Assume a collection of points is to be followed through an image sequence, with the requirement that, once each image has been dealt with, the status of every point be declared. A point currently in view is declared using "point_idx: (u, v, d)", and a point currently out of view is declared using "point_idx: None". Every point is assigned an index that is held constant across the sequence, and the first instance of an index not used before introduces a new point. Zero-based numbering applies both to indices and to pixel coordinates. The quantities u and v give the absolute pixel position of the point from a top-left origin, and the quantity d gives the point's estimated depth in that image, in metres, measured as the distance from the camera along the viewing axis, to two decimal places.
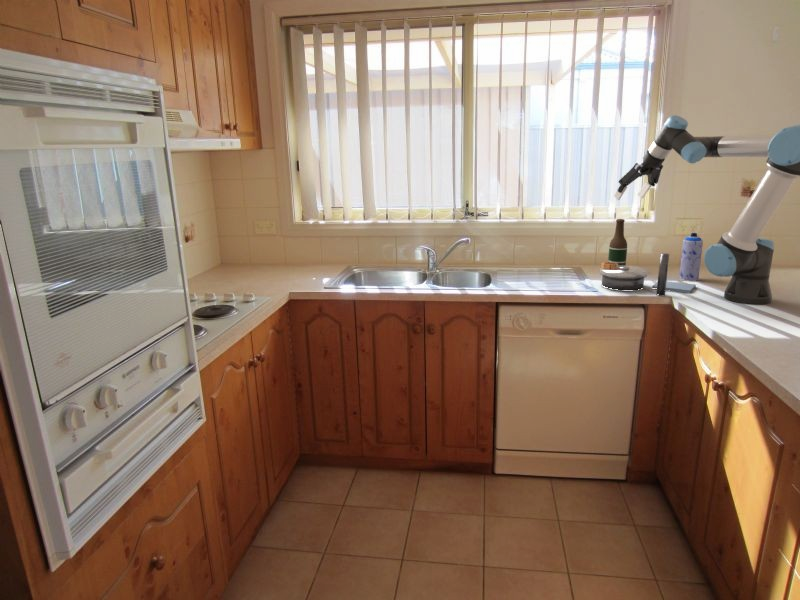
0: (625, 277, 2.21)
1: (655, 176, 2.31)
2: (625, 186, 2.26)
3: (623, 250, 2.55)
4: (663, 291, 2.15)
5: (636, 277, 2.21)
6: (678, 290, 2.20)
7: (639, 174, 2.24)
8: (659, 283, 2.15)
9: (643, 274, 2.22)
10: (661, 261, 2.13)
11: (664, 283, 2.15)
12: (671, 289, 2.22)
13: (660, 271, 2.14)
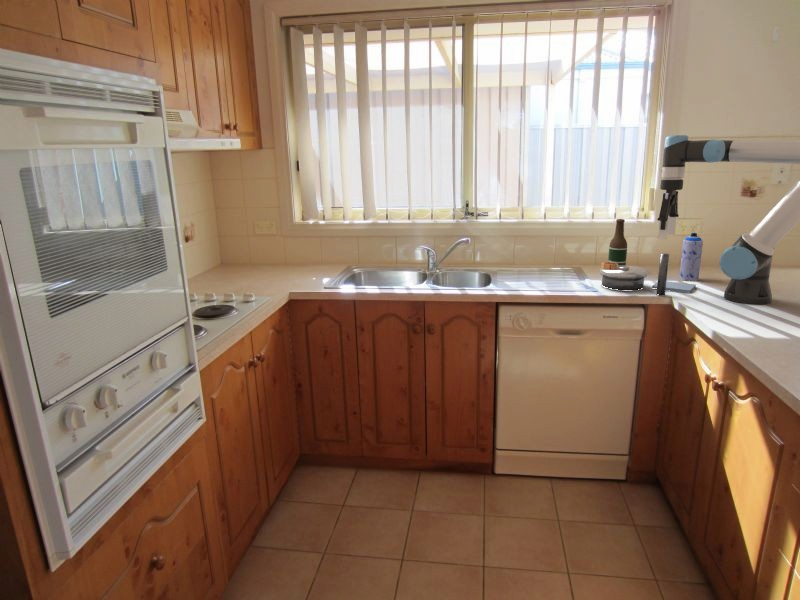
0: (625, 277, 2.21)
1: None
2: None
3: (623, 250, 2.55)
4: (663, 291, 2.15)
5: (636, 277, 2.21)
6: (678, 290, 2.20)
7: (670, 203, 2.05)
8: (659, 283, 2.15)
9: (643, 274, 2.22)
10: (661, 261, 2.13)
11: (664, 283, 2.15)
12: (671, 289, 2.22)
13: (660, 271, 2.14)
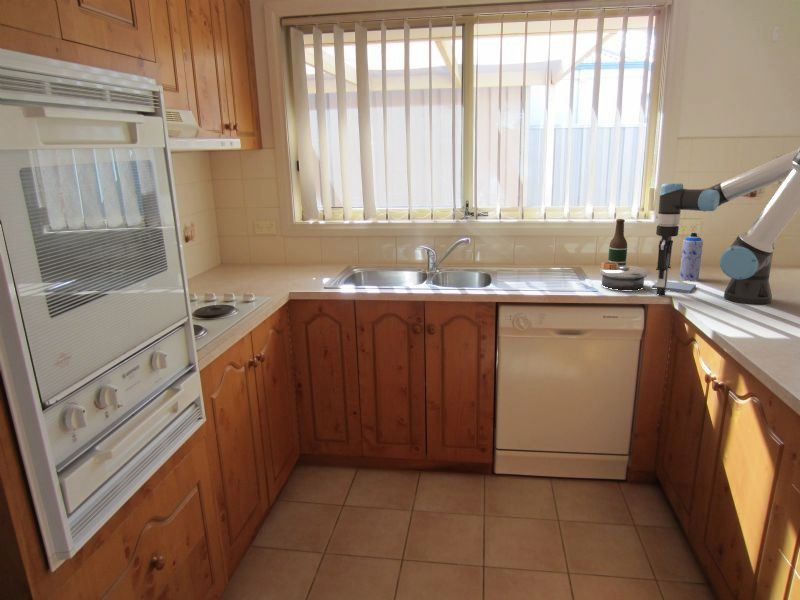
0: (625, 277, 2.21)
1: None
2: (665, 269, 2.12)
3: (623, 250, 2.55)
4: (663, 291, 2.15)
5: (636, 277, 2.21)
6: (678, 290, 2.20)
7: (667, 251, 2.10)
8: None
9: (643, 274, 2.22)
10: None
11: None
12: (671, 289, 2.22)
13: None
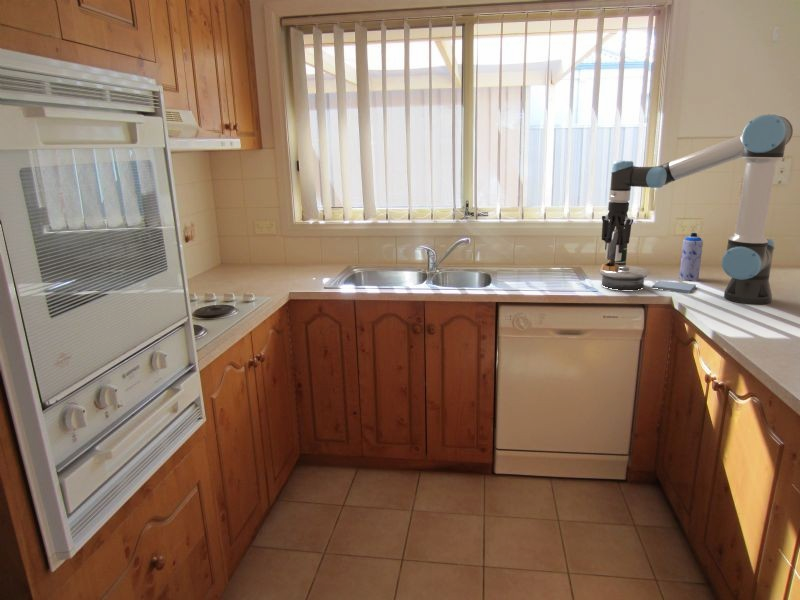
0: (639, 277, 2.21)
1: (606, 230, 2.27)
2: (623, 243, 2.22)
3: (623, 250, 2.55)
4: (614, 265, 2.27)
5: (645, 275, 2.24)
6: (678, 290, 2.20)
7: (623, 226, 2.21)
8: (612, 259, 2.25)
9: (647, 272, 2.26)
10: (616, 239, 2.22)
11: None
12: (671, 289, 2.22)
13: (614, 248, 2.23)
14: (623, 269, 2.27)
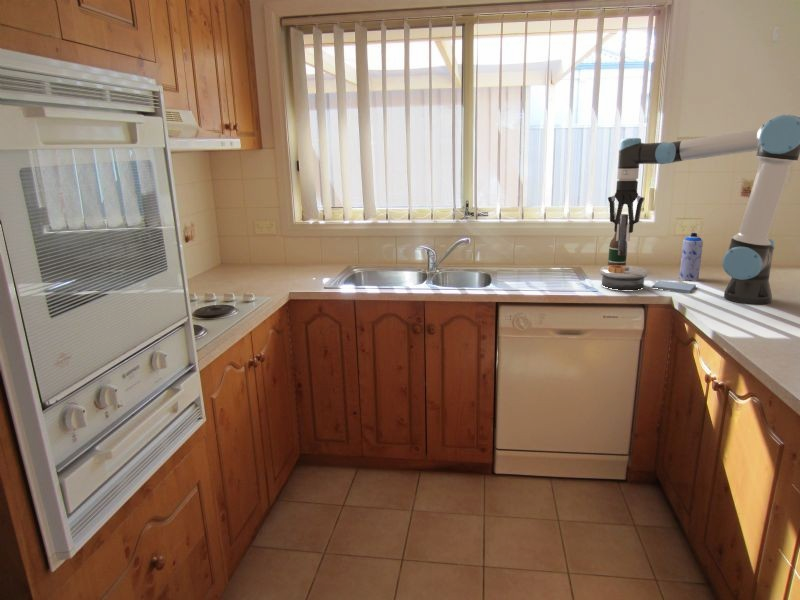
0: None
1: (614, 211, 2.21)
2: None
3: None
4: None
5: None
6: (678, 290, 2.20)
7: (632, 205, 2.17)
8: (624, 244, 2.20)
9: None
10: (625, 222, 2.17)
11: None
12: (671, 289, 2.22)
13: (625, 232, 2.19)
14: (626, 269, 2.27)
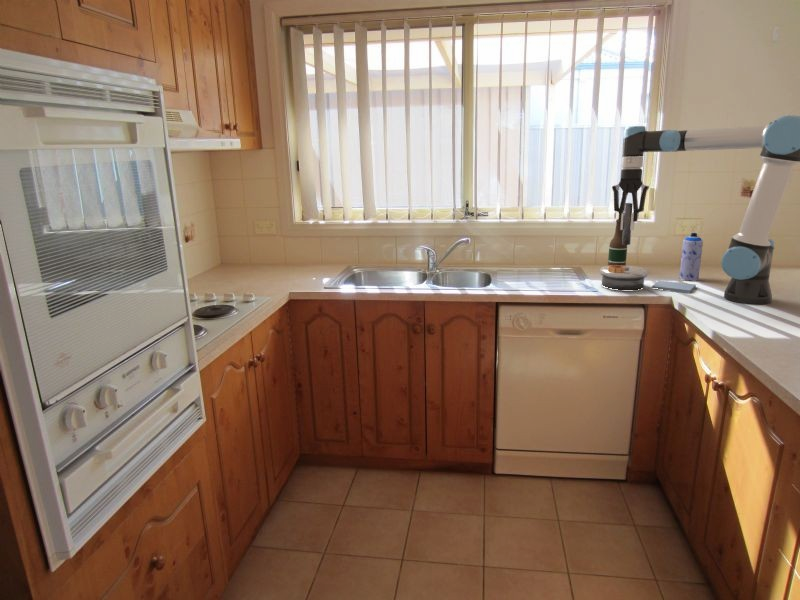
0: None
1: (618, 200, 2.20)
2: None
3: (623, 250, 2.55)
4: None
5: None
6: (678, 290, 2.20)
7: (636, 194, 2.16)
8: (628, 233, 2.19)
9: None
10: (629, 211, 2.16)
11: None
12: (671, 289, 2.22)
13: (629, 221, 2.18)
14: (626, 269, 2.27)
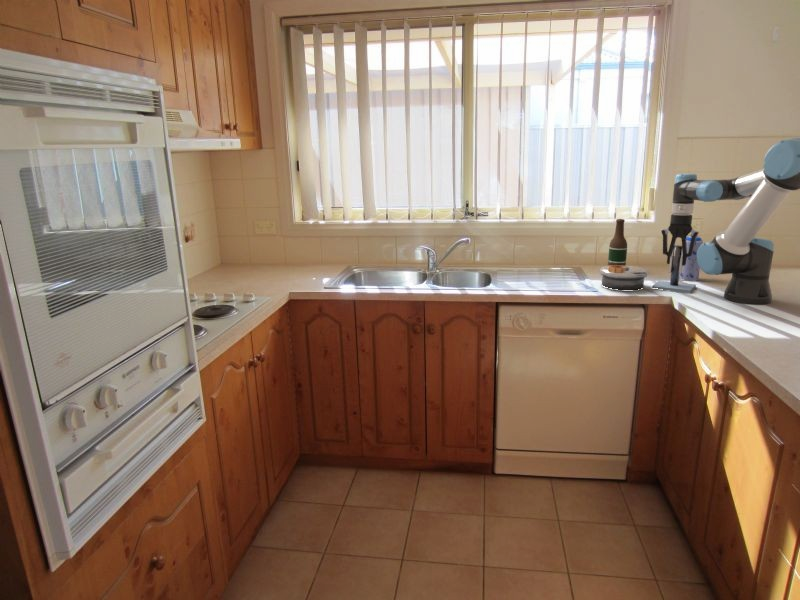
0: None
1: (666, 244, 2.25)
2: None
3: (623, 250, 2.55)
4: None
5: None
6: (678, 290, 2.20)
7: None
8: (677, 274, 2.24)
9: None
10: (679, 253, 2.22)
11: None
12: (671, 289, 2.22)
13: (678, 263, 2.23)
14: (626, 269, 2.27)
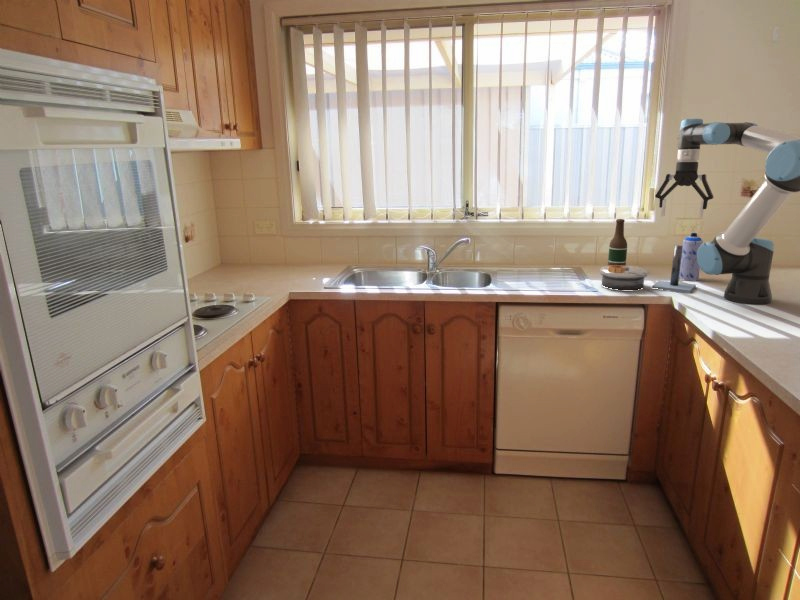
0: None
1: (663, 189, 2.22)
2: None
3: (623, 250, 2.55)
4: None
5: None
6: (678, 290, 2.20)
7: (696, 184, 2.15)
8: (677, 274, 2.25)
9: None
10: (679, 253, 2.22)
11: None
12: (671, 289, 2.22)
13: (678, 262, 2.23)
14: (626, 269, 2.27)
